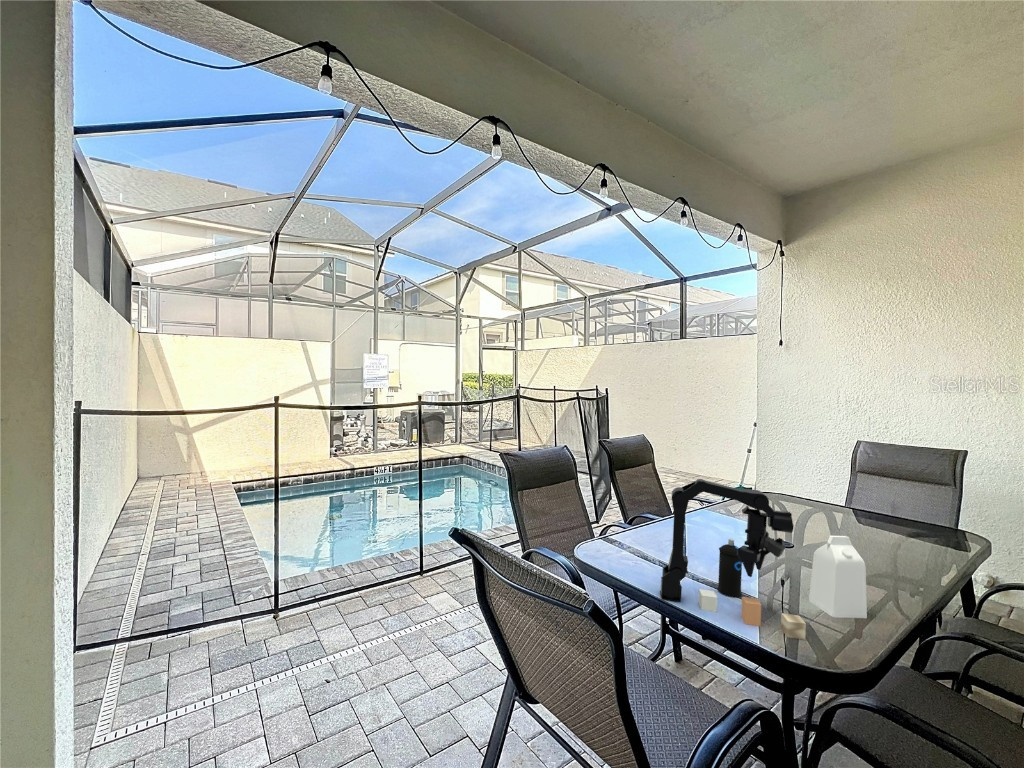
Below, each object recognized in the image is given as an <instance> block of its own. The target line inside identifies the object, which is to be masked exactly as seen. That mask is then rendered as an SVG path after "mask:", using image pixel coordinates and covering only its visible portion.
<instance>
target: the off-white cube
mask: <svg viewBox="0 0 1024 768" xmlns="http://www.w3.org/2000/svg"><path fill="white" fill-rule="evenodd" d="M698 605H699V606H700V607H699V608H700V610H701V611H707V612H714V613H717V612H718V595H717V593H716V592H715V590H708V589H701V588H699V589H698Z"/></svg>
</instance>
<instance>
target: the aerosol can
mask: <svg viewBox="0 0 1024 768" xmlns="http://www.w3.org/2000/svg"><path fill="white" fill-rule="evenodd" d="M727 540H728V543H727V544H723V545H721V546H720V547H719V548H718V550H719V554H718V555H719V558H718V561H719V562H718V586H717V592H718V593H720V594H722V595H723V596H726V597H730V598H740V597H742V575H743V574H742V573H743V572H742V571H743V563H742V561H741V559H740V557H739V556H738V555H737V549H738V548H739V547H738V546H736V545H735V539H733V538H728V539H727Z"/></svg>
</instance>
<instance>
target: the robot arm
mask: <svg viewBox="0 0 1024 768" xmlns="http://www.w3.org/2000/svg"><path fill="white" fill-rule="evenodd" d="M701 493H706V494H710V495H714V496H717V497H721V498H722V497H723V498H726V499H730V500H733V501H736V502H740V503H741V504H743V505H746V506H745V507H744V508H743V509H741V512H742V514H743V515H747V524H746V525H747V526H746V529H744V530H745V531H744V533H745V534H746V540H745V541H744V543H743V544H744V545H742V546H739V547H738V549H737V555H738V556H739V557H740V559H741V561H742V566H743V568H744V569H745V572H746V574H747V577H750V578H751V577H753V575H754V574H753V573H754V570H755V567H756V570H758V571H761V570H762V566H763V565H764V561H765V557H767V556H766V555H768V554H770V553H771V554H772V555H774V557H777V558H780V556H782V555H783V553H784V551H785V550H786V544H785V540H784V539H783V538H781V537H778V538H776V539H775V538H771V537H770V536H769V535H770V534H769V532H768V531H767V528H768V527H769V528H771V530H772V531H776V532H782V533H788V534H792V533H793V532H794V524H793V523H794V520H793V517H792V516H793V515H792V512H791V511H787V510H785V511H781V510H774V509H773V507H772V506H771V505H770V500H769V497H768V496H767V495H766V494H765V493H764V492H763V491H761V490H759V489H749V488H736V487H731V486H727V485H724V484H720V483H716V482H712V481H708V480H705V479H703V478H697V479H696V480H695V481H692V482H690V483H688V484H685V485H684V486H681V487H679V486H677V487H675V488H673V489H672V490H671V503H672V510H673V525H672V526H673V528H672V529H673V531H672V549H671V553H670V556H669V561H668V564H667V565H665V566H664V567H662V576H661V577H660V589H659V593H660V598H661V597H662V598H661V599H662V600H664V599H666V601H673V602H679V603H680V602H681V598H682V589H683V587H682V583H681V580H684V579H685V578H686V574H689V572H688V564H689V559H688V558H689V557H688V556H687V555H684V540H685V539H684V538H685V537H684V536H685V519H686V518H685V517H686V516H685V515H686V512H687V510H688V505H689V501H691V500H692V499H695V498H696V497H697V496H698V495H700V494H701ZM761 511H763V512H761ZM767 526H768V527H767Z"/></svg>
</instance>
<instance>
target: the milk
mask: <svg viewBox="0 0 1024 768" xmlns="http://www.w3.org/2000/svg"><path fill="white" fill-rule="evenodd" d="M866 572H867V571H866V562H865V561H864V559H863V558H862V556H861V555H860V554H859V552H858V551H857V550H856V548H855V547H854V546H853V543H852V542H851V538H850V537H849V536H847V535H829V537H828V539H827V542H826V543H825V544H823V545H822V546H820V547H818V548H817V549H815V551H814V552H813V559H812V567H811V575H810V584H809V585H810V588H809V593H808V594H809V596H808V602H810V603H812V604H813V605H814V606H816V607H817V608H818V609H820V610H822V611H823V612H825V613H826V614H827V615H829V616H830V617H832V618H840V619H841V618H842V619H843V618H844V619H846V618H848V619H850V618H851V619H867V618H868V616H867V614H868V610H867V609H868V608H867V573H866Z"/></svg>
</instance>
